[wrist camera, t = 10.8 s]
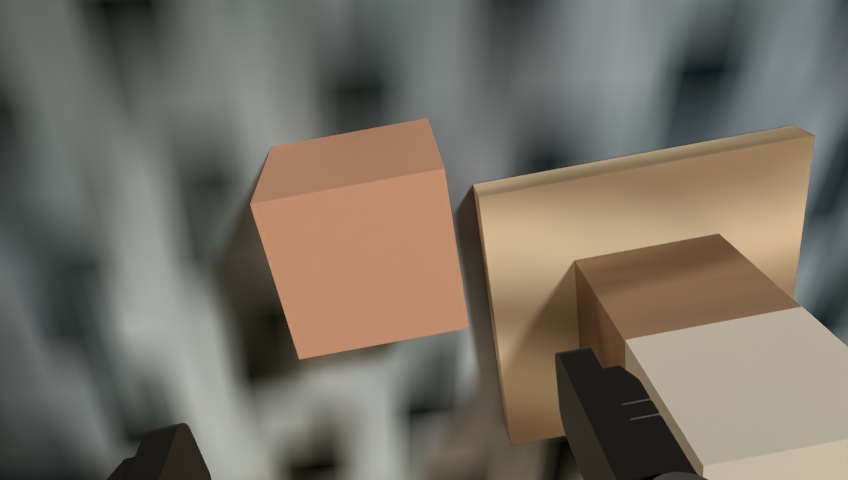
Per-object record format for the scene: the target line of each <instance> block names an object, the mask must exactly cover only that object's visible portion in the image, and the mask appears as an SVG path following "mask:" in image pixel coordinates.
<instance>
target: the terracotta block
mask: <svg viewBox="0 0 848 480" xmlns="http://www.w3.org/2000/svg"><path fill="white" fill-rule="evenodd" d="M250 206H251V209H252V212H253V215H254V219H255V222H256V225H257V228H258V231H259V234H260V237H261V241H262V244H263V247H264V250H265V253H266V256H267V260H268V263H269V266H270V269H271V272H272V275H273V278H274V282H275V285H276V288H277V291H278V294H279V297H280V301H281V304H282V307H283V310H284V313H285V316H286V319H287V323H288V326H289V329H290V332H291V335H292V338H293V342H294V345H295V348H296V351H297V354H298V357H299V360H300V359H305V358H310V357H316V356H321V355H326V354H332V353H337V352H343V351H348V350H353V349H359V348H364V347H369V346H375V345H380V344H386V343H391V342H396V341H402V340H407V339H412V338H418V337H423V336H428V335H434V334H439V333H445V332H450V331H455V330H461V329H466V328H469V323H468V317H467V310H466V304H465V297H464V291H463V284H462V278H461V272H460V265H459V259H458V252H457V246H456V239H455V233H454V226H453V220H452V214H451V207H450V201H449V194H448V188H447V181H446V175H445V168H444V165H443V162H442V159H441V156H440V153H439V150H438V147H437V144H436V141H435V138H434V135H433V132H432V129H431V127H430V124H429V121H428V118H426V119H420V120H415V121H410V122H404V123H399V124H393V125H388V126H382V127H377V128H372V129H366V130H361V131H355V132H350V133H344V134H339V135H333V136H328V137H323V138H317V139H312V140H306V141H301V142H295V143H290V144H285V145H279V146H274V147H271V149H270V152H269V155H268V157H267V160H266V163H265V165H264V168H263V171H262V173H261V176H260V179H259V181H258V184H257V187H256V189H255V192H254V195H253V197H252V200H251V203H250Z"/></svg>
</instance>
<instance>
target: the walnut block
mask: <svg viewBox="0 0 848 480" xmlns="http://www.w3.org/2000/svg"><path fill="white" fill-rule="evenodd" d="M574 261H575V279H576V296H577V314H578V331H579V348H583V347H591V349H592V350H593V352H594V354H595V356H596V357H597V359H598V361H599V363H600V365H601V367H602V368H603V369H604V368H609V367H614V366H619V365H620V366H621V367H623V368H624V369H625V340H627V339H632V338H638V337H643V336H648V335H654V334H659V333H664V332H670V331H675V330H680V329H686V328H691V327H696V326H702V325H707V324H712V323H718V322H723V321H728V320H734V319H739V318H744V317H750V316H755V315H760V314H765V313H771V312H776V311H781V310H787V309H792V308H797V307H801V306H800V305H799V304H797V303H796V302H795V301H794V300H793V299H792V298H791V297H790V296H788V295H787V294H786V293H785V292H784V291H783V290H782V289H781V288H779V287H778V286H777V285H776V284H775V283H774V282H773V281H772V280H771V279H769V278H768V277H767V276H766V275H765V274H764V273H763V272H762V271H760V270H759V269H758V268H757V267H756V266H755V265H754V264H753V263H751V262H750V261H749V260H748V259H747V258H746V257H745V256H744V255H742V254H741V253H740V252H739V251H738V250H737V249H736V248H735V247H734V246H732V245H731V244H730V243H729V242H728V241H727V240H726V239H725V238H723V237H722V236H721V235H720V234H713V235H708V236H702V237H697V238H692V239H686V240H681V241H676V242H670V243H665V244H659V245H654V246H649V247H643V248H638V249H633V250H627V251H622V252H616V253H611V254H606V255H600V256H595V257H589V258H584V259H579V260H574Z"/></svg>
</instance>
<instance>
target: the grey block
mask: <svg viewBox="0 0 848 480" xmlns="http://www.w3.org/2000/svg"><path fill="white" fill-rule="evenodd" d="M625 369H626V370H627V371H628V372H630V373H631V374H633V375H634V376H635V377H637V378H638V379H639V380H640V382H641V383H642V385H643V386H644V388H645V390H646V391H647V393H648V395H649V396H650V399H651V401H653V403H654V404H655V406H656V408H657V409H658V411H659V414H660V416H662V417H663V419H664V421H665V422H666V424H667V426H668V427H669V429H670V431H671V432H672V434H673V435H674V437H675V439H676V440H677V442H678V444H679V445H680V447H681V449H682V450H683V452H684V453H685V455H686V457H687V458H688V460H689V462H690V463H691V465H692V466H693V468H694V470H695V471H696V472H697V474H698V475H699V476H701V477H704V478H706V479H708V480H848V347H847V346H846V345H845V344H844V343H842V342H841V341H840V340H839V339H838V338H837V337H836V336H835V335H833V334H832V333H831V332H830V331H829V330H828V329H827V328H826V327H824V326H823V325H822V324H821V323H820V322H819V321H818V320H817V319H815V318H814V317H813V316H812V315H811V314H810V313H809V312H808V311H806V310H805V309H804V308H803V307H797V308H792V309H787V310H781V311H776V312H771V313H765V314H760V315H755V316H750V317H744V318H739V319H734V320H728V321H723V322H718V323H712V324H707V325H702V326H696V327H691V328H686V329H680V330H675V331H670V332H664V333H659V334H654V335H648V336H643V337H638V338H632V339H627V340H625Z"/></svg>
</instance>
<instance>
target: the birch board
mask: <svg viewBox="0 0 848 480" xmlns="http://www.w3.org/2000/svg"><path fill="white" fill-rule="evenodd" d="M814 138H815V135H813V134H811V133H809V132H807V131H805V130H803V129H801V128H799V127H797V126H795V125H792V126H787V127H782V128H776V129H771V130H765V131H760V132H755V133H749V134H744V135H738V136H733V137H728V138H722V139H717V140H711V141H706V142H701V143H695V144H690V145H684V146H679V147H673V148H668V149H663V150H657V151H652V152H646V153H641V154H636V155H630V156H625V157H619V158H614V159H609V160H603V161H598V162H592V163H587V164H582V165H576V166H571V167H565V168H560V169H554V170H549V171H544V172H538V173H533V174H527V175H522V176H517V177H511V178H506V179H500V180H495V181H490V182H484V183H479V184H473V188H474V195H475V202H476V210H477V217H478V225H479V232H480V240H481V247H482V254H483V262H484V269H485V277H486V284H487V292H488V299H489V307H490V314H491V321H492V329H493V336H494V344H495V351H496V359H497V366H498V373H499V381H500V388H501V396H502V403H503V411H504V418H505V426H506V429H507V433H508V436H509V440H510V443H511V446H512V445H518V444H523V443H528V442H534V441H539V440H544V439H550V438H555V437H560V436H566V434H565V431H564V428H563V424H562V420H561V416H560V410H559V401H558V389H557V378H556V367H555V353H557V352H562V351H568V350H573V349H578V348H579V331H578V314H577V296H576V279H575V261H574V260H579V259H584V258H589V257H595V256H600V255H606V254H611V253H616V252H622V251H627V250H633V249H638V248H643V247H649V246H654V245H659V244H665V243H670V242H676V241H681V240H686V239H692V238H697V237H702V236H708V235H713V234H720V235H721V236H722V237H723V238H725V239H726V240H727V241H728V242H729V243H730V244H731V245H732V246H734V247H735V248H736V249H737V250H738V251H739V252H740V253H741V254H742V255H744V256H745V257H746V258H747V259H748V260H749V261H750V262H751V263H753V264H754V265H755V266H756V267H757V268H758V269H759V270H760V271H762V272H763V273H764V274H765V275H766V276H767V277H768V278H769V279H771V280H772V281H773V282H774V283H775V284H776V285H777V286H778V287H779V288H781V289H782V290H783V291H784V292H785V293H786V294H787V295H788V296H790V297H791V298H792V299H793V297H794V289H795V282H796V274H797V267H798V259H799V252H800V244H801V237H802V229H803V221H804V214H805V206H806V199H807V191H808V184H809V176H810V169H811V161H812V154H813V146H814Z"/></svg>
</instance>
